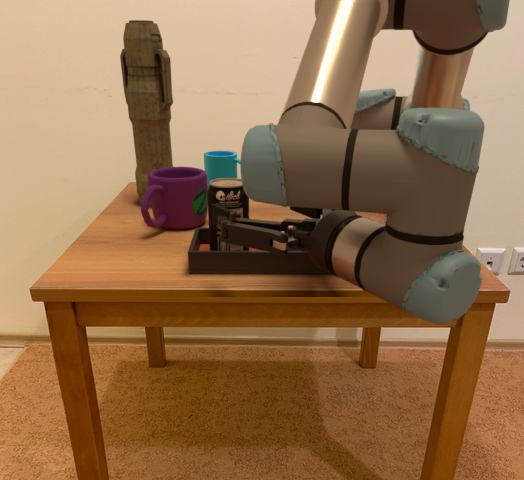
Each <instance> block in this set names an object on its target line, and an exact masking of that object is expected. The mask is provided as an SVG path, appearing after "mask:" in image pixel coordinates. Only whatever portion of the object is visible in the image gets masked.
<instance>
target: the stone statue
mask: <svg viewBox="0 0 524 480" xmlns="http://www.w3.org/2000/svg"><path fill="white" fill-rule="evenodd" d="M122 37H123V38H122V40H123V41H122V42H123V48H122V49H121V52H120V55H119V59H120V67H121V76H122V77H121V78H122V84H123V85H122V87H123V93H124V99H125V103H126V105H127V112H128V119H129V121H130V123H131V126H132V136H133V144H134V145H133V146H134V153H135V163H136V164H135V165H136V167H135V172H134V176H135V185H136V186H135V187H136V193H137V194H138V204H139V205H140V206H141V203H142V199H143V196H144V194H145V191H146V190H147V189H148V188H149V184H148V173H149V172H150V171H153V170H155V169H160V168H166V167H174V163H173V151H172V137H171V125H170V122H171V120H172V111H171V107H172V105H173V104H174V98H173V88H172V86H173V85H172V84H173V83H172V66H171V64H172V63H171V56H170V55H169V53H168V52H167V50H166V49H164V44H163V37H162V34H161V32H160V28H159V25H158V23H155V22H154V20H144V19H143V20H141V19H140V20H139V19H138V20H136V19H135V20H131V19H130V20H128V22H125V24H124V31H123V36H122ZM149 208H152V206H151V200H150V203H149Z"/></svg>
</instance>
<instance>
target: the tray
mask: <svg viewBox="0 0 524 480" xmlns="http://www.w3.org/2000/svg"><path fill="white" fill-rule="evenodd" d="M292 230H293V227H289V230H288V235H289V237H292ZM187 259H188V260H187V261H188V273H189V274H229V275H230V274H232V275H233V274H235V275H237V274H241V275H242V274H243V275H246V274H247V275H249V274H250V275H251V274H253V275H254V274H255V275H256V274H259V275H260V274H264V275H265V274H268V275H274V274H275V275H331V274H330V273H328V272H326V271H324V270H322V269H320V268H319V267H317V266H316V265H315V264H314V262H313V261H312V259H311V257H310V255H309V254H308V252H304V251H301V250H299V249H293V248H290V249H288V255H287V256H284V257H282V256H279V255H276V254H274V253H271V252H268V251H263V250H258V249H253V248H249V251H210V242H209V227H208V226H207V227H202V226H201V227H200V226H197V227H195V228H194V231H193V235H192V238H191V240H190V243H189V248H188V251H187Z"/></svg>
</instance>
